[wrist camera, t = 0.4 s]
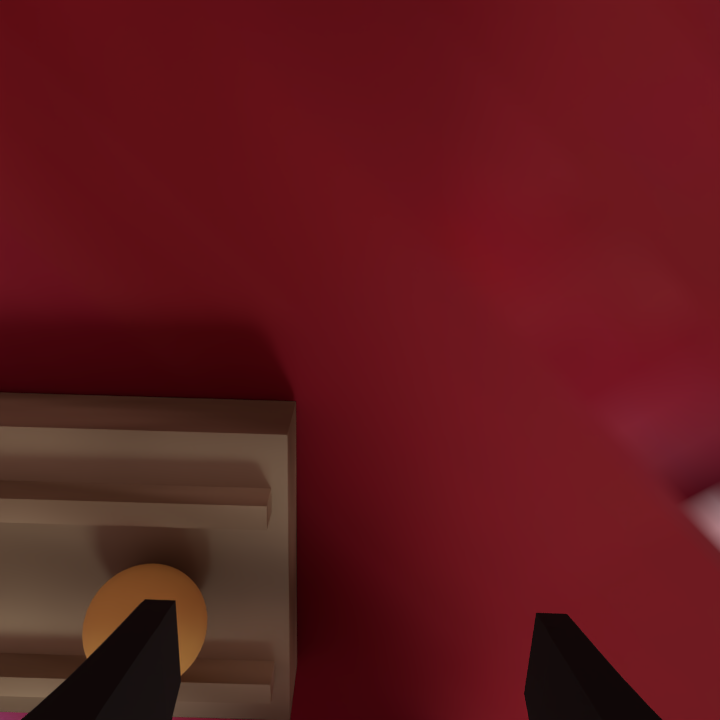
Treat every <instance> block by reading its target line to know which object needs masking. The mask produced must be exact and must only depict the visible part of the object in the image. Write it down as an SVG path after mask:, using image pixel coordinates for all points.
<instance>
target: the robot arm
mask: <svg viewBox="0 0 720 720" xmlns="http://www.w3.org/2000/svg"><path fill="white" fill-rule="evenodd" d="M180 684H181V672H180V658H179V643H178V628H177V614H176V600H153V599H145V600H144V601H143V602H141V603H140V604H139V605H138V606H137V607H136V608H135V609H134V610H133V612H132V613H131V614H130V615H129V616H128V617H127V618H126V619H125V620H124V621H123V622H122V623H121V624H120V625H119V626H118V627H117V628H116V629H115V631H114V632H113V633H112V634H111V635H110V636H109V637H108V638H107V639H106V640H105V641H104V642H103V643H102V644H101V645H100V646H99V647H98V648H97V649H96V650H95V651H94V652H93V653H92V654H91V655H90V656H89V657H88V658H87V659H86V660H85V661H84V662H83V663H82V664H81V665H80V666H79V667H78V668H77V669H76V670H75V671H74V672H73V673H72V674H71V675H70V676H69V677H68V678H67V679H66V680H65V681H63V682H62V683H61V684H60V685H59V686H58V687H57V688H56V689H55V690H54V691H53V692H51V693H50V694H49V695H48V696H47V697H46V698H45V699H44V700H43V701H41V702H40V703H39V704H38V705H37V706H36V707H35V708H34V709H33V710H32V711H30V712H29V713H28V714H27V715H26V716H25V717H24V718H22V719H21V720H172V716H173V712H174V708H175V704H176V700H177V696H178V692H179V688H180ZM524 695H525V700H526V706H527V711H528V716H529V720H662V719H661V718H660V717H659V716H658V715H657V714H656V713H655V712H654V711H653V710H652V709H651V708H650V707H649V706H648V705H647V704H646V703H645V702H644V700H643V699H642V698H641V697H640V696H639V695H638V694H637V693H636V692H635V691H634V690H633V689H632V688H631V686H630V685H629V684H628V683H627V682H626V681H625V680H624V679H623V678H622V677H621V676H620V674H619V673H618V672H617V671H616V670H615V669H614V668H613V667H612V665H611V664H610V663H609V662H608V661H607V660H606V659H605V657H604V656H603V655H602V654H601V653H600V652H599V651H598V649H597V648H596V647H595V646H594V645H593V644H592V642H591V641H590V640H589V639H588V638H587V637H586V635H585V634H584V633H583V632H582V631H581V630H580V628H579V627H578V626H577V625H576V624H575V623H574V622H573V620H572V619H571V618H570V617H569V616H568V615H567V614H552V613H536V618H535V625H534V631H533V638H532V645H531V651H530V658H529V665H528V671H527V678H526V685H525V692H524Z"/></svg>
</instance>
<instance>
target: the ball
mask: <svg viewBox="0 0 720 720" xmlns="http://www.w3.org/2000/svg"><path fill="white" fill-rule="evenodd" d="M145 599H153V600H176V614H177V628H178V643H179V658H180V672H181V675H182V674H183V673H184V672H185V671H186V670H187V669H188V668H189V667H190V666H191V665H192V663H193V662H194V661H195V659H196V657H197V656H198V654H199V652H200V650H201V648H202V645H203V643H204V640H205V636H206V631H207V610H206V605H205V601H204V598H203V596H202V594H201V592H200V590H199V588H198V587H197V585H196V584H195V583H194V582H193V581H192V579H190V578H189V577H188V576H187V575H186V574H184V573H183V572H181V571H180V570H178V569H176V568H173V567H171V566H167V565H163V564H155V563H152V564H142V565H137V566H133V567H130V568H128V569H126V570H123V571H121V572H120V573H118V574H116V575H115V576H113V577H112V578H111V579H109V580H108V581H107V582H106V583H105V584H104V585H103V586H102V587H101V588H100V589H99V591H98V592H97V593H96V595H95V596H94V598H93V599H92V601H91V603H90V605H89V607H88V609H87V612H86V615H85V619H84V622H83V631H82V640H83V648H84V652H85V655H86V658H88V657H89V656H90V655H91V654H92V653H93V652H94V651H95V650H96V649H97V648H98V647H99V646H100V645H101V644H102V643H103V642H104V641H105V640H106V639H107V638H108V637H109V636H110V635H111V634H112V633H113V632H114V631H115V629H116V628H117V627H118V626H119V625H120V624H121V623H122V622H123V621H124V620H125V619H126V618H127V617H128V616H129V615H130V614H131V613H132V612H133V610H134V609H135V608H136V607H137V606H138V605H139V604H140V603H141V602H143V601H144V600H145Z"/></svg>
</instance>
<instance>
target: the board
mask: <svg viewBox="0 0 720 720" xmlns="http://www.w3.org/2000/svg"><path fill="white" fill-rule="evenodd" d="M152 563H155V564H163V565H167V566H171V567H173V568H176V569H178V570H180V571H181V572H183V573H184V574H186V575H187V576H188V577H189V578H190V579H192V581H193V582H194V583H195V584H196V585H197V587H198V588H199V590H200V592H201V594H202V596H203V598H204V601H205V605H206V610H207V631H206V636H205V640H204V643H203V645H202V648H201V650H200V652H199V654H198V656H197V657H196V659H195V661H194V662H193V663H192V665H191V666H190V667H189V668H188V669H187V670H186V671H185V672H184V673H183V674H182V675H181V684H180V688H179V692H178V696H177V700H176V704H175V708H174V712H173V716H172V717H196V718H230V719H265V720H290V716H291V708H292V700H293V693H294V685H295V677H296V669H297V518H296V401H268V400H235V399H202V398H169V397H135V396H102V395H69V394H36V393H3V392H0V712H26V713H29V712H30V711H32V710H33V709H34V708H35V707H36V706H37V705H38V704H39V703H40V702H41V701H43V700H44V699H45V698H46V697H47V696H48V695H49V694H50V693H51V692H53V691H54V690H55V689H56V688H57V687H58V686H59V685H60V684H61V683H62V682H63V681H65V680H66V679H67V678H68V677H69V676H70V675H71V674H72V673H73V672H74V671H75V670H76V669H77V668H78V667H79V666H80V665H81V664H82V663H83V662H84V661H85V660H86V659H87V658H86V655H85V652H84V648H83V640H82V631H83V622H84V619H85V615H86V612H87V609H88V607H89V605H90V603H91V601H92V599H93V598H94V596H95V595H96V593H97V592H98V591H99V589H100V588H101V587H102V586H103V585H104V584H105V583H106V582H107V581H108V580H109V579H111V578H112V577H113V576H115V575H116V574H118V573H120V572H121V571H123V570H126V569H128V568H130V567H133V566H137V565H142V564H152Z"/></svg>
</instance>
